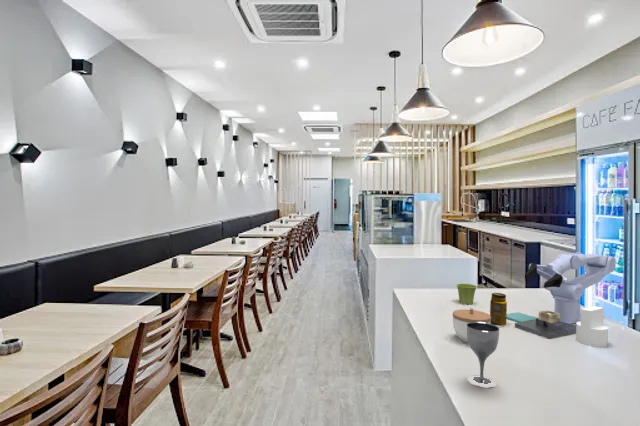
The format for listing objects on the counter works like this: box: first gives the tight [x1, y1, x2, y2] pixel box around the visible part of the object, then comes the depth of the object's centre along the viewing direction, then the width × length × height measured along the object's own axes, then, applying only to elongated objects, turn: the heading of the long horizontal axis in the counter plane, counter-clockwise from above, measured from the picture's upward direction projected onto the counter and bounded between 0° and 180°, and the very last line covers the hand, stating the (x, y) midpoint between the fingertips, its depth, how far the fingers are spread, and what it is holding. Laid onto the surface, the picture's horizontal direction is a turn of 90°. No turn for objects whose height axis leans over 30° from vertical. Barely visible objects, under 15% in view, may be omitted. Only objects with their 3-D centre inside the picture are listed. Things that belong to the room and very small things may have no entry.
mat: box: [506, 311, 537, 323], centre depth 157 cm, size 11×10×1 cm
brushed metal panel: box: [514, 313, 576, 340], centre depth 143 cm, size 20×14×6 cm
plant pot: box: [455, 283, 478, 305], centre depth 182 cm, size 9×9×9 cm
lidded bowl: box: [452, 308, 491, 343], centre depth 131 cm, size 13×13×11 cm
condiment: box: [489, 292, 511, 328], centre depth 150 cm, size 7×8×12 cm
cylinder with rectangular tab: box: [575, 305, 609, 348], centre depth 130 cm, size 9×9×12 cm
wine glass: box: [467, 322, 500, 384], centre depth 99 cm, size 8×8×15 cm
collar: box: [538, 309, 560, 323], centre depth 143 cm, size 5×5×3 cm
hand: (535, 281), depth 145 cm, fingers open, 7 cm apart
